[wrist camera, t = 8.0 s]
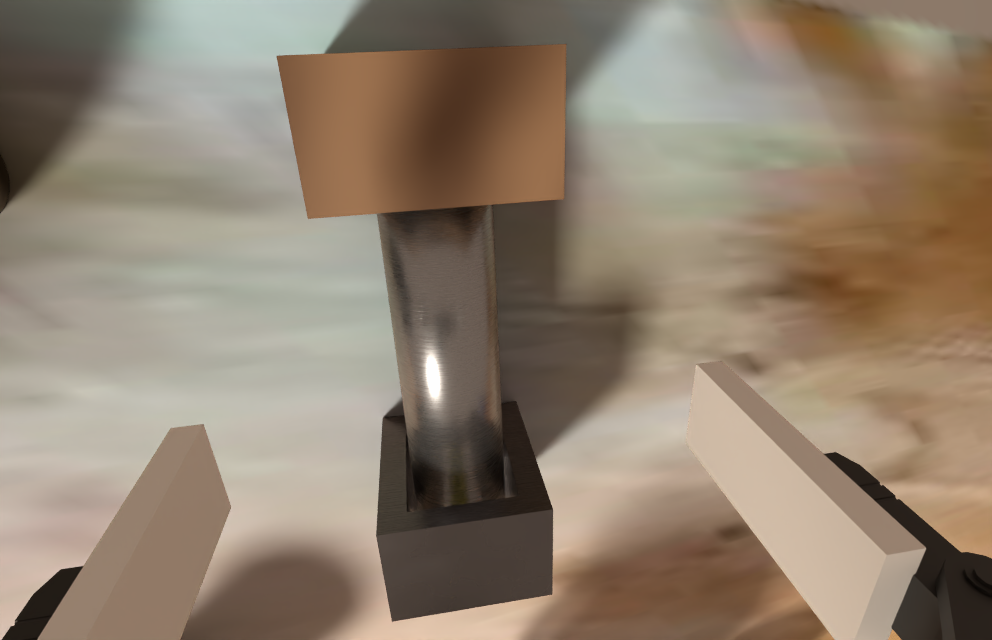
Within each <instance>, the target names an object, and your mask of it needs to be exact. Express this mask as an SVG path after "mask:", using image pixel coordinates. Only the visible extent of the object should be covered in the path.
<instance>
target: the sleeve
mask: <svg viewBox="0 0 992 640" xmlns="http://www.w3.org/2000/svg"><path fill="white" fill-rule="evenodd" d="M501 410H502V434H503V457H504V481H505V498H502V499H495V500H488V501H481V502H474V503H467V504H460V505H453V506H447V507H440V508H433V509H426V510H419V511H418V510H417V503H416V496H415V488H414V481H413V474H412V466H411V459H410V452H409V444H408V437H407V430H406V422H405V415H402V416H394V417H385V418H383V423H382V441H381V460H380V478H379V496H378V515H377V533H376V537H377V542H378V548H379V553H380V558H381V564H382V569H383V575H384V580H385V585H386V591H387V596H388V602H389V607H390V612H391V618H392V622H393V621H398V620H404V619H410V618H416V617H422V616H428V615H434V614H440V613H446V612H452V611H457V610H463V609H469V608H475V607H481V606H487V605H493V604H499V603H505V602H510V601H516V600H522V599H528V598H534V597H540V596H546V595H552V569H553V508H552V505H551V502H550V499H549V496H548V493H547V490H546V488H545V485H544V482H543V479H542V476H541V473H540V470H539V467H538V464H537V461H536V458H535V455H534V452H533V449H532V446H531V444H530V441H529V438H528V435H527V432H526V429H525V426H524V423H523V420H522V417H521V414H520V411H519V408H518V405H517V402H516V401H515V402H507V403H501Z"/></svg>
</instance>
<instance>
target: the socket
mask: <svg viewBox="0 0 992 640" xmlns="http://www.w3.org/2000/svg"><path fill="white" fill-rule="evenodd" d="M277 61H278V66H279V71H280V76H281V81H282V87H283V92H284V97H285V102H286V107H287V113H288V118H289V123H290V128H291V133H292V138H293V144H294V149H295V154H296V159H297V164H298V170H299V175H300V180H301V185H302V190H303V196H304V201H305V206H306V211H307V216H308V219H311V218H324V217H337V216H350V215H363V214H376V213H389V212H402V211H415V210H428V209H441V208H454V207H467V206H480V205H493V204H506V203H519V202H532V201H545V200H558V199H564V170H565V102H566V44H557V45H532V46H507V47H483V48H458V49H433V50H408V51H384V52H359V53H334V54H309V55H284V56H277Z"/></svg>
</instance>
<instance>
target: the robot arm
mask: <svg viewBox="0 0 992 640" xmlns="http://www.w3.org/2000/svg"><path fill="white" fill-rule="evenodd" d="M686 444H687V446H688V447H689V448H690V450H691V451H692V452H693V454H694V455H695V456H696V458H697V459H698V460H699V461H700V463H701V464H702V465H703V467H704V468H705V469H706V471H707V472H708V473H709V475H710V476H711V477H712V479H713V480H714V481H715V483H716V484H717V485H718V487H719V488H720V489H721V490H722V492H723V493H724V494H725V496H726V497H727V498H728V500H729V501H730V502H731V504H732V505H733V506H734V508H735V509H736V510H737V512H738V513H739V514H740V515H741V517H742V518H743V519H744V521H745V522H746V523H747V525H748V526H749V527H750V529H751V530H752V531H753V533H754V534H755V535H756V537H757V538H758V539H759V541H760V542H761V543H762V544H763V546H764V547H765V548H766V550H767V551H768V552H769V554H770V555H771V556H772V558H773V559H774V560H775V562H776V563H777V564H778V566H779V567H780V568H781V570H782V571H783V572H784V573H785V575H786V576H787V577H788V579H789V580H790V581H791V583H792V584H793V585H794V587H795V588H796V589H797V591H798V592H799V593H800V595H801V596H802V597H803V599H804V600H805V601H806V602H807V604H808V605H809V606H810V608H811V609H812V610H813V612H814V613H815V614H816V616H817V617H818V618H819V620H820V621H821V622H822V624H823V625H824V626H825V628H826V629H827V630H828V631H829V633H830V634H831V635H832V637H833V638H834V639H835V640H888V638H889V636H890V633H891V631H892V629H893V630H894V631H895V632H896V633H897V635H898V636H899V637H900V638H901V639H902V640H992V559H991V558H989V557H986V556H984V555H979V554H974V553H969V552H963V553H961V552H960V551H959V550H957V549H956V548H955V547H954V546H953V545H952V544H950V543H949V542H948V541H947V540H946V539H945V538H944V537H942V536H941V535H940V534H939V533H938V532H937V531H935V530H934V529H933V528H932V527H931V526H930V525H929V524H927V523H926V522H925V521H924V520H923V519H922V518H920V517H919V516H918V515H917V514H916V513H915V512H914V511H912V510H911V509H910V508H909V507H908V506H907V505H905V504H904V503H903V502H902V501H901V500H900V499H898V500H897V499H896V498H895V495H894V494H893V493H892V492H890V491H889V490H888V489H887V488H886V487H885V486H884V485H882V486H881V485H880V482H879V481H878V480H877V479H875V478H874V477H873V476H872V475H871V474H870V473H869V472H867V471H866V470H865V469H864V468H863V467H862V466H860V465H859V464H857V463H855V462H853V461H851V460H849V459H847V458H846V457H844V456H842V455H840V454H838V453H836V452H834V453H827V454H823V453H822V452H821V451H820V450H819V449H817V448H816V447H815V446H814V445H813V444H812V443H811V442H810V441H809V440H808V439H807V438H805V437H804V436H803V435H802V434H801V433H800V432H799V431H798V430H797V429H796V428H795V427H793V426H792V425H791V424H790V423H789V422H788V421H787V420H786V419H785V418H784V417H783V416H781V415H780V414H779V413H778V412H777V411H776V410H775V409H774V408H773V407H772V406H770V405H769V404H768V403H767V402H766V401H765V400H764V399H763V398H762V397H761V396H760V395H758V394H757V393H756V392H755V391H754V390H753V389H752V388H751V387H750V386H749V385H748V384H746V383H745V382H744V381H743V380H742V379H741V378H740V377H739V376H738V375H737V374H735V373H734V372H733V371H732V370H731V369H730V368H729V367H728V366H727V365H726V364H725V363H723V362H722V361H718V362H709V363H701V364H696V370H695V378H694V385H693V392H692V399H691V406H690V414H689V421H688V428H687V435H686ZM230 509H231V505H230V502H229V499H228V496H227V493H226V490H225V487H224V484H223V481H222V478H221V475H220V472H219V469H218V466H217V463H216V460H215V457H214V454H213V451H212V448H211V445H210V442H209V439H208V436H207V433H206V430H205V427H204V424H201V425H193V426H185V427H176V428H171V429H170V430H169V432H168V433H167V435H166V437H165V438H164V440H163V441H162V443H161V445H160V446H159V448H158V449H157V451H156V452H155V454H154V456H153V457H152V459H151V460H150V462H149V464H148V465H147V467H146V468H145V470H144V471H143V473H142V475H141V476H140V478H139V479H138V481H137V482H136V484H135V486H134V487H133V489H132V490H131V492H130V494H129V495H128V497H127V498H126V500H125V501H124V503H123V505H122V506H121V508H120V509H119V511H118V513H117V514H116V516H115V517H114V519H113V520H112V522H111V524H110V525H109V527H108V528H107V530H106V531H105V533H104V535H103V536H102V538H101V539H100V541H99V543H98V544H97V546H96V547H95V549H94V550H93V552H92V554H91V555H90V557H89V558H88V560H87V562H86V563H85V565H84V566H81V567H74V568H67V569H61V570H60V571H59V572H57V573H56V574H55V575H54V576H53V577H52V578H51V579H50V580H49V581H48V582H46V583H45V584H44V585H43V586H42V587H41V588H40V589H39V590H38V591H36V592H35V593H34V594H33V596H32V597H31V598H30V600H29V601H28V603H27V604H26V606H25V607H24V608H23V610H22V611H21V613H20V614H19V616H18V617H17V619H16V620H15V625H14V626H11V627H10V629H9V630H8V632H7V633H6V634H5V636H4V637H3V639H2V640H180V639H181V637H182V634H183V632H184V629H185V626H186V624H187V621H188V618H189V616H190V613H191V611H192V608H193V605H194V603H195V600H196V598H197V595H198V592H199V590H200V587H201V584H202V582H203V579H204V577H205V574H206V571H207V569H208V566H209V564H210V561H211V558H212V556H213V553H214V551H215V548H216V545H217V543H218V540H219V537H220V535H221V532H222V530H223V527H224V524H225V522H226V519H227V517H228V514H229V511H230Z"/></svg>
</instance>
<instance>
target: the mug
mask: <svg viewBox="0 0 992 640" xmlns="http://www.w3.org/2000/svg"><path fill="white" fill-rule="evenodd" d="M8 195H9V176H8V172H7V169H6V166H5V163H4V161H3V159H2V157H1V155H0V212H1V211H2V209H3V208H4V206H5V205H6V203H7V199H8Z"/></svg>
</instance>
